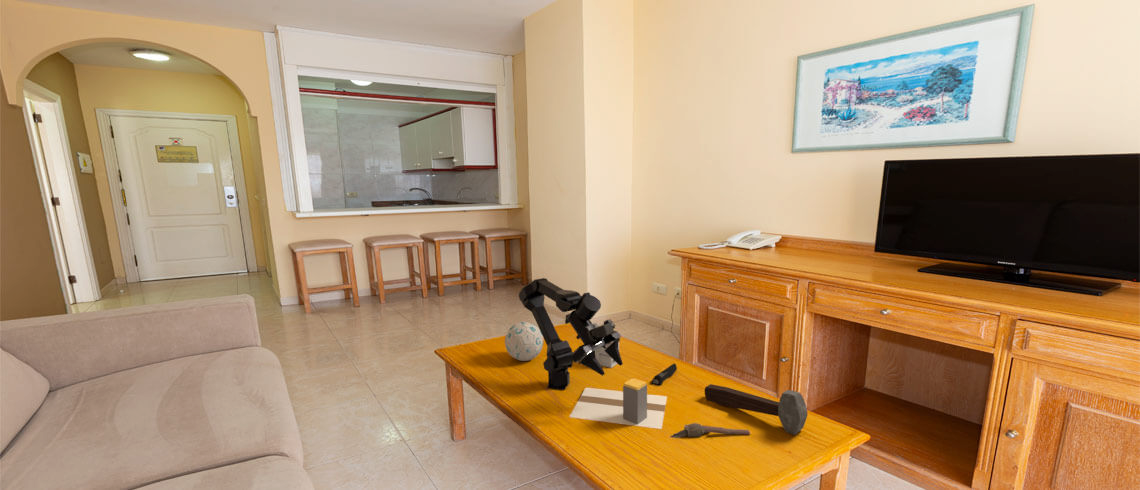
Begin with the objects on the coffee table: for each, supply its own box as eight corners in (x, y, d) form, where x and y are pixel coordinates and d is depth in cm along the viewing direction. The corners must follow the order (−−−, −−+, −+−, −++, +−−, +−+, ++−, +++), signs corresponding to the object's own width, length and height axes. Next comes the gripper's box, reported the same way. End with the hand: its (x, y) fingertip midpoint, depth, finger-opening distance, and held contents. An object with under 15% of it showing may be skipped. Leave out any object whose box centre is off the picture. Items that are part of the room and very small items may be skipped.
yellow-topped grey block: (623, 418, 135) (623, 383, 134) (632, 412, 139) (632, 377, 138) (637, 424, 132) (637, 388, 131) (646, 417, 136) (647, 382, 134)
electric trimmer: (679, 372, 170) (679, 364, 169) (660, 387, 158) (660, 378, 157) (670, 370, 172) (670, 361, 172) (650, 384, 160) (650, 376, 159)
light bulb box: (619, 362, 179) (619, 335, 177) (611, 368, 173) (611, 341, 172) (595, 357, 184) (595, 331, 183) (587, 363, 179) (586, 336, 177)
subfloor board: (569, 419, 137) (569, 416, 137) (585, 389, 156) (585, 387, 156) (661, 431, 130) (661, 428, 130) (667, 398, 149) (667, 396, 149)
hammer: (704, 411, 147) (801, 438, 125) (701, 377, 147) (798, 397, 124) (712, 406, 151) (808, 431, 128) (709, 372, 150) (805, 391, 127)
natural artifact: (668, 441, 127) (666, 426, 129) (749, 435, 128) (745, 419, 130) (671, 440, 124) (668, 424, 126) (754, 433, 125) (750, 418, 127)
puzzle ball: (523, 349, 194) (522, 315, 192) (551, 357, 185) (550, 321, 183) (497, 361, 182) (496, 324, 180) (526, 370, 173) (525, 331, 171)
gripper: (578, 320, 133) (609, 366, 128) (615, 306, 147) (645, 346, 142) (558, 340, 140) (587, 385, 134) (596, 325, 153) (624, 365, 148)
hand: (612, 369), depth 139 cm, fingers open, 9 cm apart
